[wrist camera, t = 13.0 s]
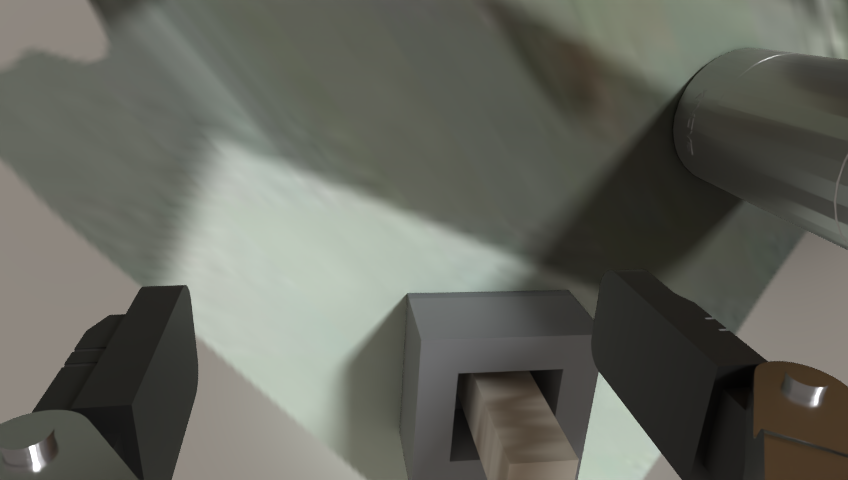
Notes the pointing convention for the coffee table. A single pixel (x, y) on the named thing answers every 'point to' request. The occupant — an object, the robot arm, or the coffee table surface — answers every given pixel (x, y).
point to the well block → (489, 369)
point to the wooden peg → (515, 428)
